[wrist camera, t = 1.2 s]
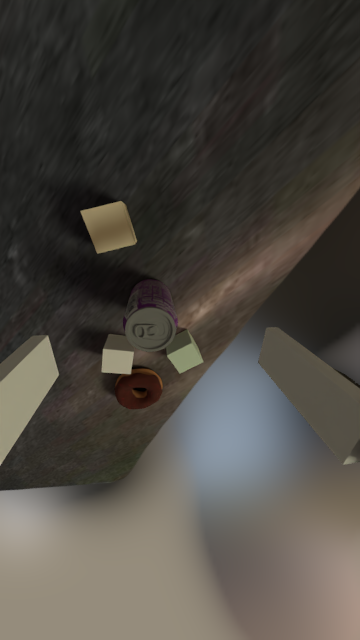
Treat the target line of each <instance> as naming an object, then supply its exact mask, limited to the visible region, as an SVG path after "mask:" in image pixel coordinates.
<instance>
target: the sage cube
mask: <svg viewBox="0 0 360 640" xmlns="http://www.w3.org/2000/svg"><path fill="white" fill-rule="evenodd" d="M166 351H167V356H168V358H169V359H170V360H171V362H172V363H173V365H174V366H175V367H176V369H177V370H178V372H179V373H182V372H184V371H186V370H188V369H190V368H192V367H194V366H196V365H198V364H200V363H202V362H203V360H202V357H201V354H200V352H199V349H198V347H197V345H196V343H195V341H194V340H193V338H192V336H191V335H190V333H189V331H188V330H185V331H183V332H181V333H179V334H177V335H175V337H174V339H173V341H172V342H171V343H170V344H169V345H168V346H167V347H166Z"/></svg>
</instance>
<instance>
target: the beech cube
mask: <svg viewBox="0 0 360 640" xmlns="http://www.w3.org/2000/svg"><path fill="white" fill-rule="evenodd" d="M80 212H81V214H82V217H83V219H84V222H85V224H86V226H87V229H88V231H89V234H90V236H91V239H92V241H93V244H94V246H95V249H96V251H97V254H98V253H102V252H106V251H110V250H114V249H118V248H122V247H126V246H130V245H134V244H135V243H136V242H137V240H136V237H135V234H134V230H133V227H132V224H131V220H130V217H129V214H128V211H127V207H126V205H125V204H124V203H123V202H121V201H119V202H115V203H111V204H107V205H103V206H99V207H95V208H91V209H87V210H82V211H80Z"/></svg>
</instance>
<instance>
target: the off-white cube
mask: <svg viewBox="0 0 360 640" xmlns="http://www.w3.org/2000/svg"><path fill="white" fill-rule="evenodd" d="M133 355H134V346H132V345H131V344H130V342H129V341H128V339H127V337H126V336H123V335H115V334H109V335H108V338H107V340H106V343H105V345H104V348H103V359H102V372H105V373H119V374H131V369H132V362H133Z"/></svg>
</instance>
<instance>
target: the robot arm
mask: <svg viewBox="0 0 360 640" xmlns="http://www.w3.org/2000/svg"><path fill="white" fill-rule="evenodd" d="M258 363H259V364H260V365H261V367H262V368H263V369H264V370H265V371H266V373H267V374H268V375H269V376H270V377H271V379H272V380H273V381H274V382H275V383H276V385H277V386H278V387H279V388H280V389H281V391H282V392H283V393H284V394H285V395H286V397H287V398H288V399H289V400H290V401H291V403H292V404H293V405H294V406H295V407H296V409H297V410H298V411H299V412H300V414H301V415H302V416H303V417H304V418H305V420H306V421H307V422H308V423H309V424H310V426H311V427H312V428H313V429H314V430H315V432H316V433H317V434H318V435H319V436H320V437H321V439H322V440H323V441H324V442H325V444H326V445H327V446H328V447H329V448H330V450H331V451H332V452H333V453H334V454H335V456H336V457H337V458H338V459H339V460H340V462H341V463H342V464H350V463H356V462H360V385H358V384H357V383H355V381H353V380H352V379H350V378H349V377H348V376H346V375H345V374H343V373H341V372H339V371H337V370H335V369H333V368H331V367H330V366H329V365H327V364H326V363H325V362H323V361H322V360H321V359H319V358H318V357H316V356H315V355H314V354H313V353H311V352H310V351H309V350H307V349H306V348H304V347H303V346H302V345H300V344H299V343H298V342H296V341H295V340H294V339H292V338H291V337H290V336H288V335H287V334H286V333H284V332H283V331H282V330H280V329H279V328H277V327H276V328H275V327H274V328H266V332H265V336H264V340H263V345H262V349H261V353H260V357H259V361H258ZM58 375H59V373H58V370H57V366H56V363H55V359H54V356H53V352H52V349H51V345H50V342H49V338H48V335H43V336H32V337H31V338H30V339H28V340H27V341H26V342H25V343H24V344H23V345H21V346H20V347H19V348H18V349H17V350H16V351H15V352H13V353H12V354H11V355H10V356H9V357H8V358H7V359H5V360H4V361H3V362H2V363H1V364H0V465H1V463H2V462H3V460H4V459H5V457H6V456H7V454H8V452H9V451H10V449H11V448H12V446H13V445H14V443H15V442H16V440H17V439H18V437H19V436H20V434H21V432H22V431H23V429H24V428H25V426H26V425H27V423H28V422H29V420H30V419H31V417H32V416H33V414H34V412H35V411H36V409H37V408H38V406H39V405H40V403H41V402H42V400H43V399H44V397H45V395H46V394H47V392H48V391H49V389H50V388H51V386H52V385H53V383H54V382H55V380H56V379H57V377H58Z"/></svg>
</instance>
